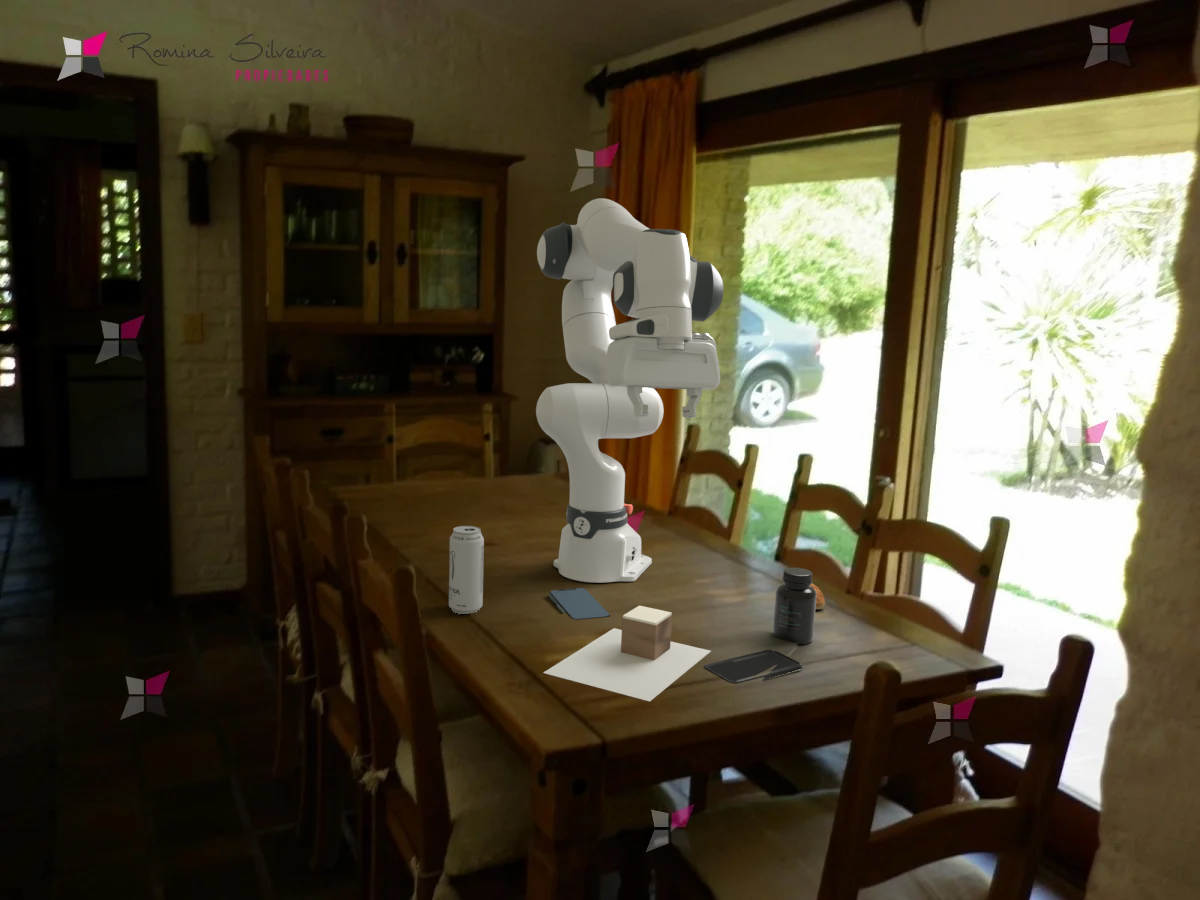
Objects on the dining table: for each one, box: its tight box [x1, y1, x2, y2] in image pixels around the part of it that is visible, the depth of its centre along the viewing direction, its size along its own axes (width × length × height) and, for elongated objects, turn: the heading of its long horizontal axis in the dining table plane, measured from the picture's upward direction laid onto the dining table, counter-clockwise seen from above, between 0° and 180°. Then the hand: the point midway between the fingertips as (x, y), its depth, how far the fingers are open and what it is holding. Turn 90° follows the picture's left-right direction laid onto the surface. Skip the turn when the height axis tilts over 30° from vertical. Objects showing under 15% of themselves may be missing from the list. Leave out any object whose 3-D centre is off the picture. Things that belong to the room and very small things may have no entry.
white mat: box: [542, 627, 712, 702], centre depth 155 cm, size 23×18×1 cm
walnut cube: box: [621, 605, 673, 660], centre depth 159 cm, size 6×6×6 cm
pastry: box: [810, 583, 826, 610], centre depth 188 cm, size 9×7×4 cm
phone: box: [703, 649, 803, 684], centre depth 155 cm, size 8×1×15 cm
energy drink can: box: [448, 525, 485, 615], centre depth 175 cm, size 6×6×15 cm
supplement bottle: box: [772, 567, 817, 645], centre depth 169 cm, size 7×7×12 cm
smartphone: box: [548, 587, 611, 621], centre depth 180 cm, size 8×2×15 cm
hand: (665, 416), depth 156 cm, fingers open, 8 cm apart
